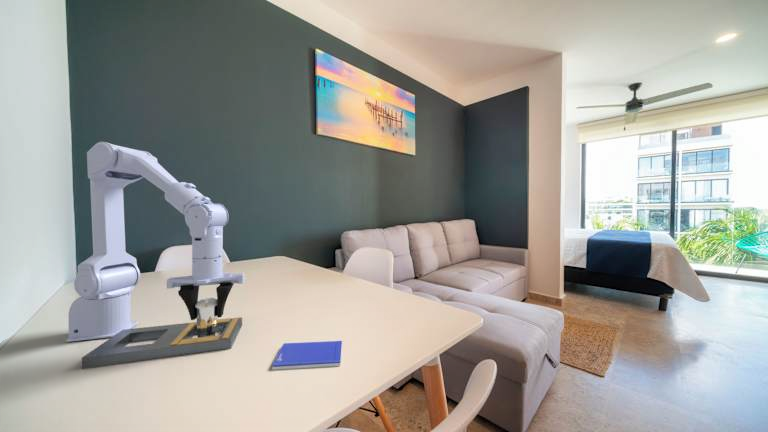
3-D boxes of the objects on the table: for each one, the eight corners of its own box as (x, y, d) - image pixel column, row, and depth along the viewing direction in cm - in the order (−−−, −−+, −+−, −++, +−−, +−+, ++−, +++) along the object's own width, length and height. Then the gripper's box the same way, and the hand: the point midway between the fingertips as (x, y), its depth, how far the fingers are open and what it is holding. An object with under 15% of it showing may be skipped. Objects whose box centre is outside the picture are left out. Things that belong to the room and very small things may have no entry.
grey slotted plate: (81, 368, 47) (81, 356, 47) (122, 338, 59) (122, 328, 59) (231, 348, 55) (231, 338, 55) (242, 325, 67) (242, 316, 67)
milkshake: (192, 347, 55) (193, 300, 55) (195, 337, 60) (196, 293, 60) (217, 343, 57) (219, 297, 57) (219, 333, 62) (220, 291, 62)
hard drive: (272, 364, 48) (340, 360, 49) (283, 342, 56) (342, 339, 58) (272, 373, 48) (340, 368, 49) (283, 349, 56) (341, 346, 58)
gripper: (159, 261, 53) (159, 328, 53) (240, 258, 57) (239, 319, 57) (174, 256, 59) (174, 315, 59) (246, 253, 64) (245, 308, 64)
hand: (207, 316), depth 59 cm, fingers closed on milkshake, 4 cm apart
